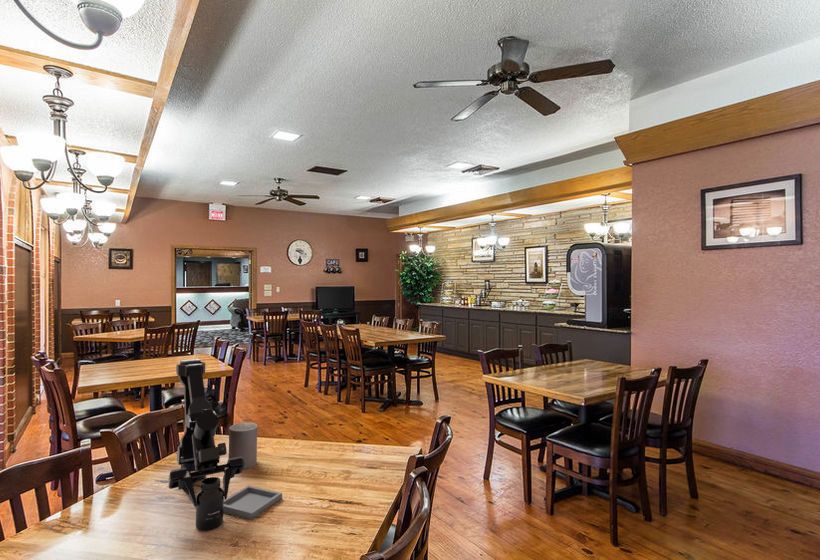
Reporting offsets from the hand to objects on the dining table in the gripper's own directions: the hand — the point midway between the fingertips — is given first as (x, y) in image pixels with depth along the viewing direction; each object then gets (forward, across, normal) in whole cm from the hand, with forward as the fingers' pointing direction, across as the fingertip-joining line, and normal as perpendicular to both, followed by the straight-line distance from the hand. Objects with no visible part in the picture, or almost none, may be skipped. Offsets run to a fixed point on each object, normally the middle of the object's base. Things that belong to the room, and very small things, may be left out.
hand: (211, 502), depth 120 cm
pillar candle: (-22, +17, +32) cm, 43 cm away
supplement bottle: (+4, 0, +6) cm, 7 cm away
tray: (0, +12, +10) cm, 15 cm away
